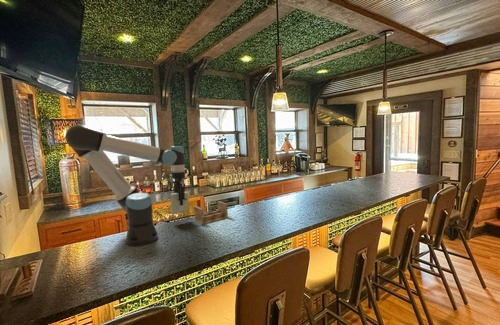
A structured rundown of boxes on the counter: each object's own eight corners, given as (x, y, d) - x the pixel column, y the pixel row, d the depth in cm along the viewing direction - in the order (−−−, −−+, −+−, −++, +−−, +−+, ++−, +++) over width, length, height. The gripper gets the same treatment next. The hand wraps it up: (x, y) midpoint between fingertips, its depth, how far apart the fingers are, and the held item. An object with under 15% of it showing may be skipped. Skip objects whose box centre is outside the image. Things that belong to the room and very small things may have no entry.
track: (201, 224, 147) (200, 209, 146) (194, 220, 155) (193, 206, 155) (227, 217, 158) (227, 203, 157) (220, 214, 166) (219, 201, 165)
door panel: (173, 214, 148) (172, 194, 147) (171, 213, 151) (170, 193, 150) (189, 211, 154) (188, 192, 153) (187, 210, 157) (186, 191, 156)
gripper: (189, 172, 147) (191, 211, 148) (179, 170, 160) (181, 206, 161) (176, 173, 142) (178, 213, 144) (167, 171, 155) (169, 208, 157)
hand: (180, 209), depth 153 cm, fingers closed on door panel, 3 cm apart
